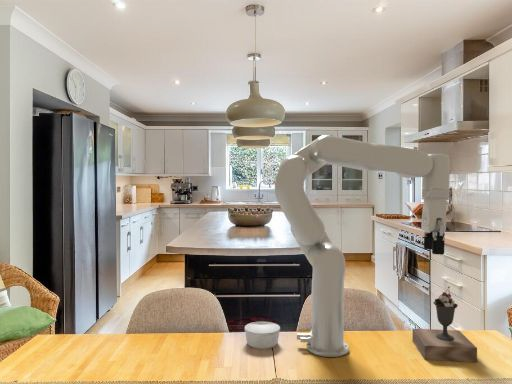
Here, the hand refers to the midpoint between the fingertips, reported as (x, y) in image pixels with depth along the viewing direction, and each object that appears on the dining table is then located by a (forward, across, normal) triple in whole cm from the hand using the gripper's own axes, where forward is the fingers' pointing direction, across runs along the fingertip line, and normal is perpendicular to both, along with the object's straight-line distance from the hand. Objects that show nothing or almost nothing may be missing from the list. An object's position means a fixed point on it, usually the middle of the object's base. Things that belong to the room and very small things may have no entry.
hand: (433, 251), depth 125 cm
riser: (+29, +2, +3) cm, 30 cm away
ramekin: (+31, +4, -51) cm, 60 cm away
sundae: (+25, +2, +4) cm, 26 cm away
